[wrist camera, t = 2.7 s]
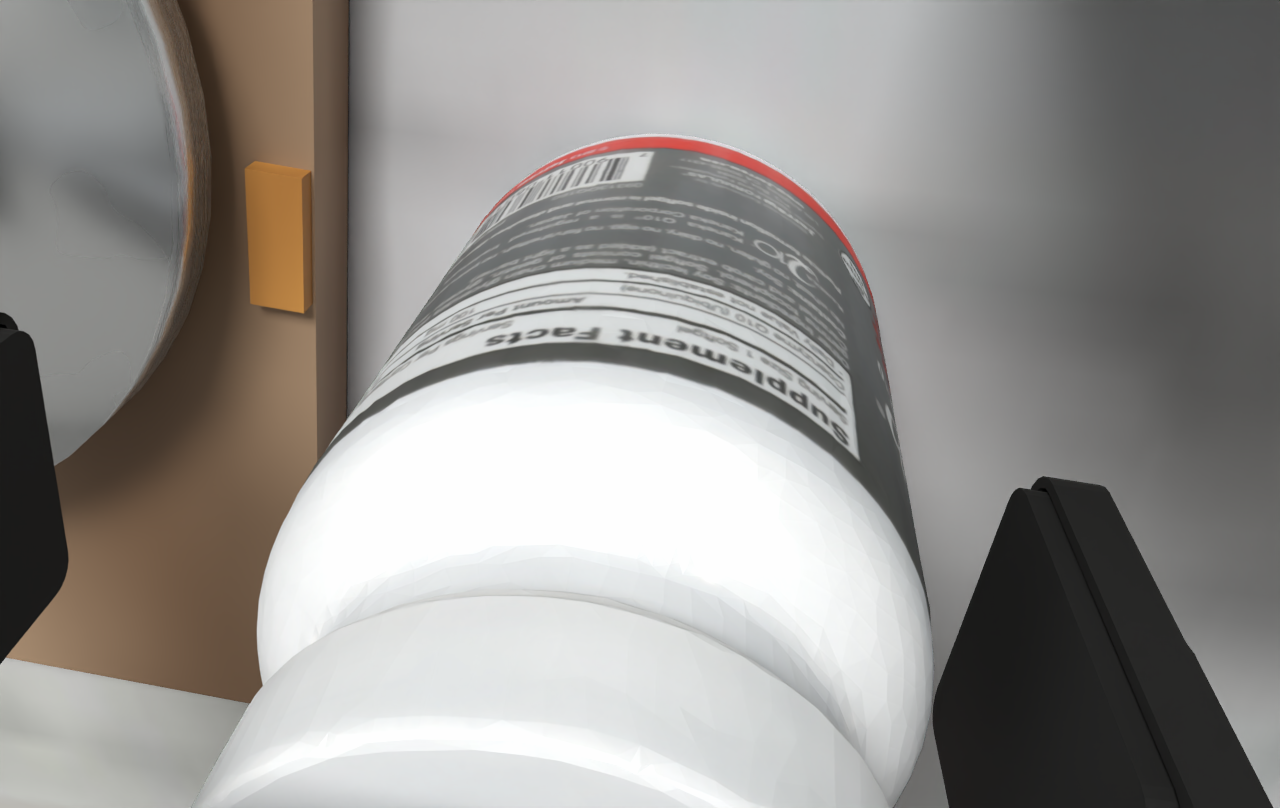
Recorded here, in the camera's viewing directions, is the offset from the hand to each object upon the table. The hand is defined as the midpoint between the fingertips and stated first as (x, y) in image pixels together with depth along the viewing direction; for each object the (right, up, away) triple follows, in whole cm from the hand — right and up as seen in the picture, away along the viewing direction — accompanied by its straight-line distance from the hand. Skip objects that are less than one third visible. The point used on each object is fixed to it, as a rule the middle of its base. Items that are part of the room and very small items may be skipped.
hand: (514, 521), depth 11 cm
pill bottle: (+2, +2, +5) cm, 6 cm away
